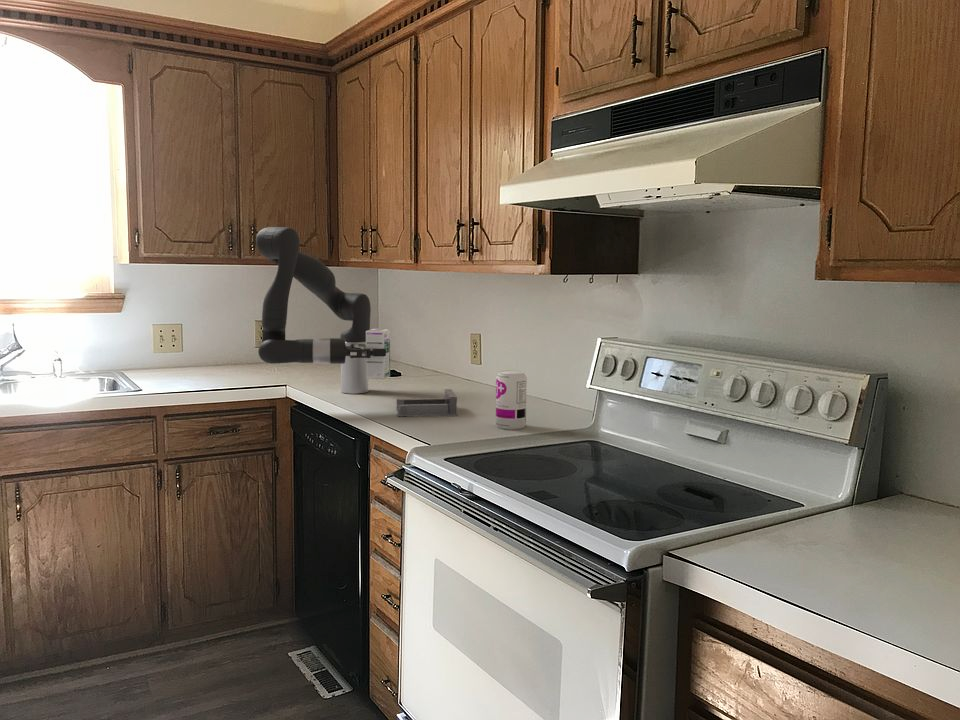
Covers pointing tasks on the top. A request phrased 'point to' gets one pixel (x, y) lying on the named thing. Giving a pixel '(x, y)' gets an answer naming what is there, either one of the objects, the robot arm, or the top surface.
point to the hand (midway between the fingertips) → (385, 351)
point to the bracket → (429, 406)
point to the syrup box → (378, 364)
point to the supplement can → (511, 399)
